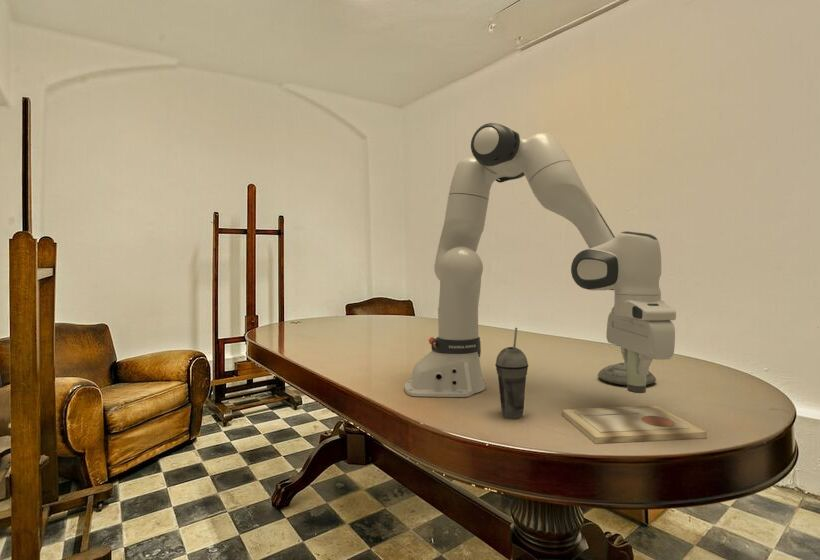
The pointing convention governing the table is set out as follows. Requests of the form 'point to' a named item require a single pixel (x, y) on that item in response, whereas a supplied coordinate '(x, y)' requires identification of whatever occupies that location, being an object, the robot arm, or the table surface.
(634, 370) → the cylinder
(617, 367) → the flying saucer
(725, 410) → the table surface
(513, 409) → the beverage cup
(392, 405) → the table surface
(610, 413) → the sketch board
